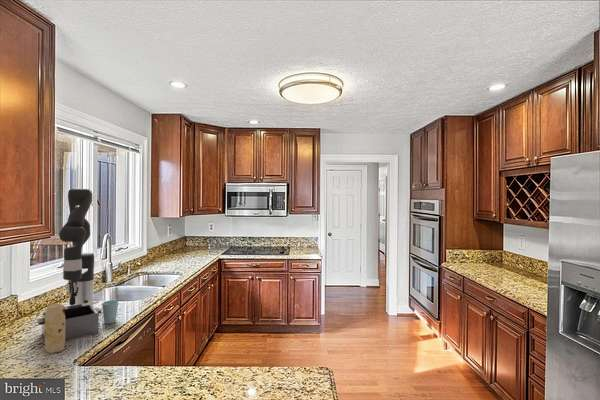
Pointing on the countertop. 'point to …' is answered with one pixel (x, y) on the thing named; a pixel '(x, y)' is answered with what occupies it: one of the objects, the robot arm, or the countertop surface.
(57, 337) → the food model
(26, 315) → the countertop surface
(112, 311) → the cup
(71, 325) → the cooker pot
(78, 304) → the lid
